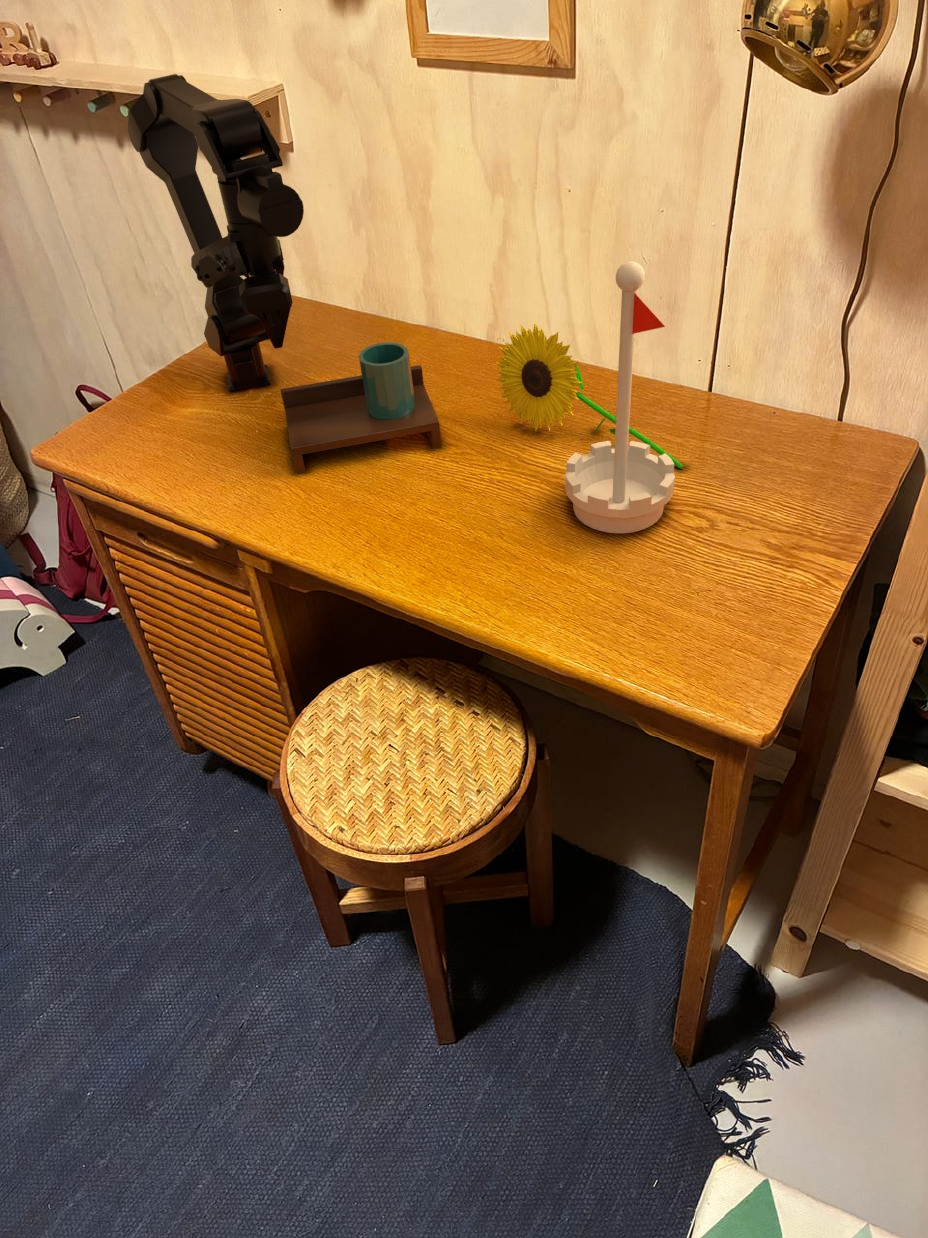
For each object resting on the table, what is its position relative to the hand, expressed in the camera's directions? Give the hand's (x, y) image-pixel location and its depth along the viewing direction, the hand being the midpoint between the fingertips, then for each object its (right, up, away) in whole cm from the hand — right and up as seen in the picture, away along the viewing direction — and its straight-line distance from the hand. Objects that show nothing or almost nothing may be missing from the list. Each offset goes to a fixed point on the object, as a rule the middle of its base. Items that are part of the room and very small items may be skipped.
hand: (275, 333), depth 126 cm
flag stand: (+45, -26, -13) cm, 53 cm away
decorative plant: (+42, -15, -1) cm, 45 cm away
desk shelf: (+12, -14, +3) cm, 18 cm away
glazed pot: (+16, -10, +1) cm, 19 cm away
